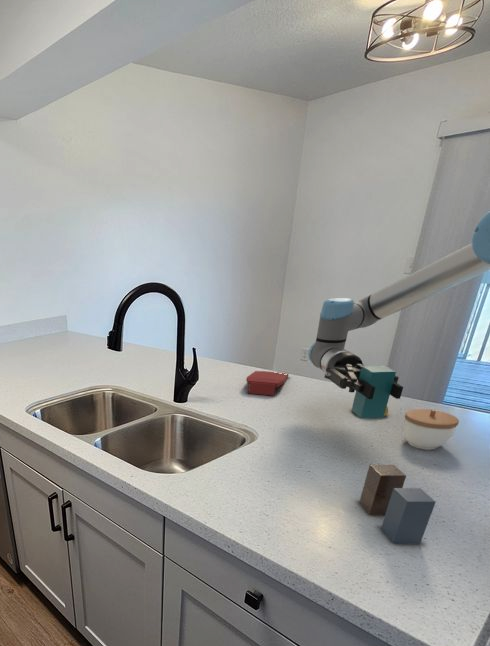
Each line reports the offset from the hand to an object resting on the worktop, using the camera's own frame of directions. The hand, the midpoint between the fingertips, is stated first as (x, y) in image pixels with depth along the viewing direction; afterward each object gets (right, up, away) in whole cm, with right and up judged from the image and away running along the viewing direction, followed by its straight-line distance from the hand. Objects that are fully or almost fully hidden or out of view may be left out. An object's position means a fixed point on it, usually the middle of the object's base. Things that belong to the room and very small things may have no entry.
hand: (385, 393), depth 96 cm
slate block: (-9, -29, -16) cm, 34 cm away
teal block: (+1, -4, +8) cm, 9 cm away
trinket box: (+20, -11, +16) cm, 28 cm away
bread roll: (+19, -1, +35) cm, 40 cm away
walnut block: (-8, -25, -8) cm, 27 cm away
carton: (0, +13, +64) cm, 66 cm away
